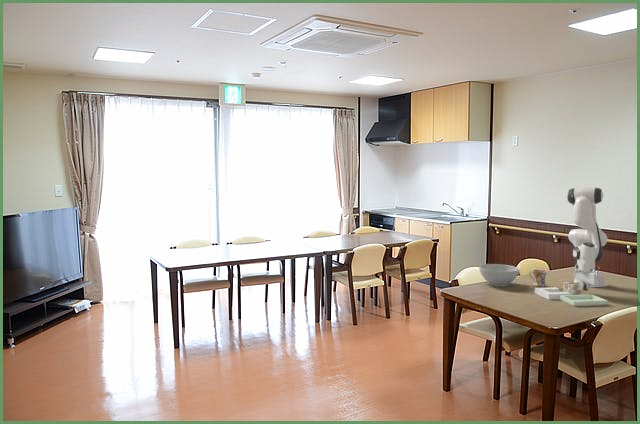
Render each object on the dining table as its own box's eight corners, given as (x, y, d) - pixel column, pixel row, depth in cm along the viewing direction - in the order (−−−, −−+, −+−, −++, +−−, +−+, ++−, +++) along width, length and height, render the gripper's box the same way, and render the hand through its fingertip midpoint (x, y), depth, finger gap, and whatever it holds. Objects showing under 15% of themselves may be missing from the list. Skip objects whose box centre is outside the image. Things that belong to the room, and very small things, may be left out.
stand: (555, 292, 341) (555, 287, 341) (570, 298, 325) (570, 293, 325) (534, 293, 339) (534, 287, 339) (548, 299, 323) (548, 294, 323)
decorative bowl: (470, 281, 370) (471, 265, 368) (500, 279, 379) (501, 262, 378) (495, 290, 345) (496, 272, 344) (527, 287, 354) (528, 270, 353)
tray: (591, 299, 325) (592, 294, 325) (607, 305, 312) (607, 300, 311) (559, 300, 322) (560, 295, 322) (573, 306, 308) (574, 301, 308)
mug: (548, 286, 358) (549, 271, 357) (542, 288, 352) (543, 273, 351) (531, 283, 367) (532, 268, 366) (525, 285, 361) (526, 270, 360)
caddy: (584, 293, 339) (584, 281, 338) (590, 296, 333) (590, 284, 332) (562, 294, 337) (563, 282, 336) (568, 296, 331) (569, 284, 330)
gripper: (602, 271, 324) (601, 292, 326) (581, 264, 344) (580, 285, 346) (593, 271, 323) (592, 293, 325) (573, 264, 343) (572, 285, 345)
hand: (586, 288), depth 335 cm, fingers closed on caddy
